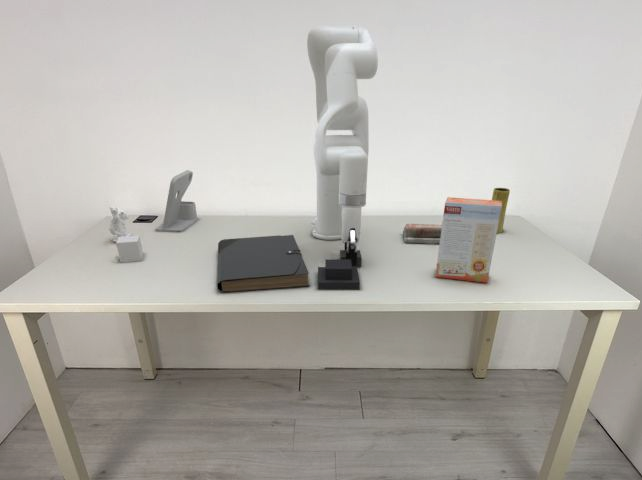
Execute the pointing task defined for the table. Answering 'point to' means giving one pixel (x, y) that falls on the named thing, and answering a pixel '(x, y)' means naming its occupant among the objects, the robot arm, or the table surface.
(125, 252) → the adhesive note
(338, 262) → the charcoal pad
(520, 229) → the table surface
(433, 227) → the packaged product
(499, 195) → the vase
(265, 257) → the dark grey book
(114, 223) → the white figurine
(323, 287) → the base pad
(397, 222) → the table surface
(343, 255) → the grey pad
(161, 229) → the phone holder
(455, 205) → the cracker box
